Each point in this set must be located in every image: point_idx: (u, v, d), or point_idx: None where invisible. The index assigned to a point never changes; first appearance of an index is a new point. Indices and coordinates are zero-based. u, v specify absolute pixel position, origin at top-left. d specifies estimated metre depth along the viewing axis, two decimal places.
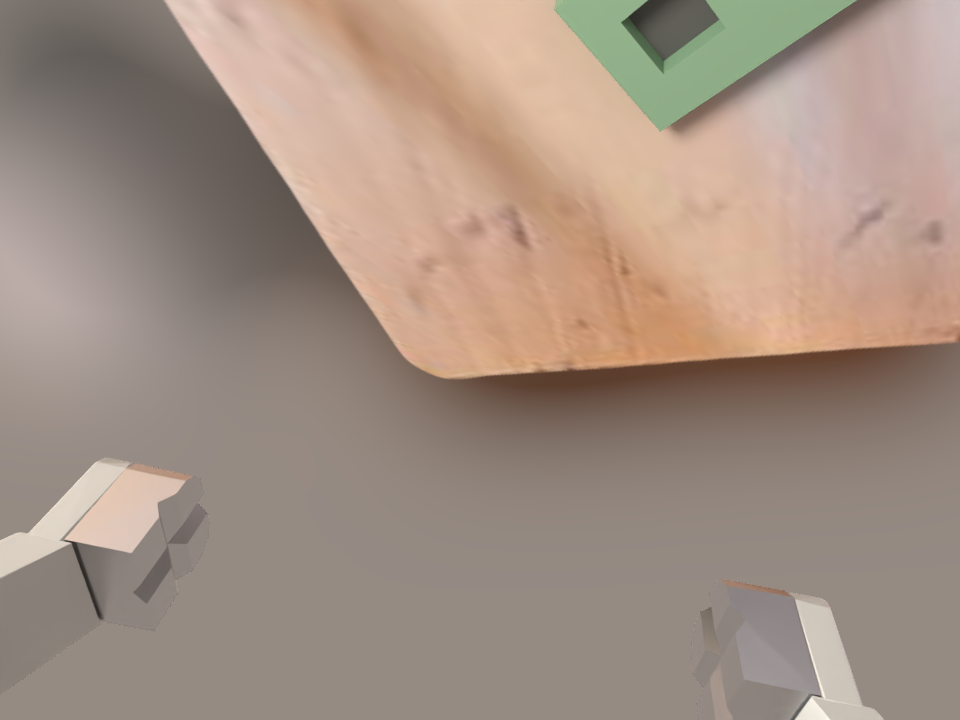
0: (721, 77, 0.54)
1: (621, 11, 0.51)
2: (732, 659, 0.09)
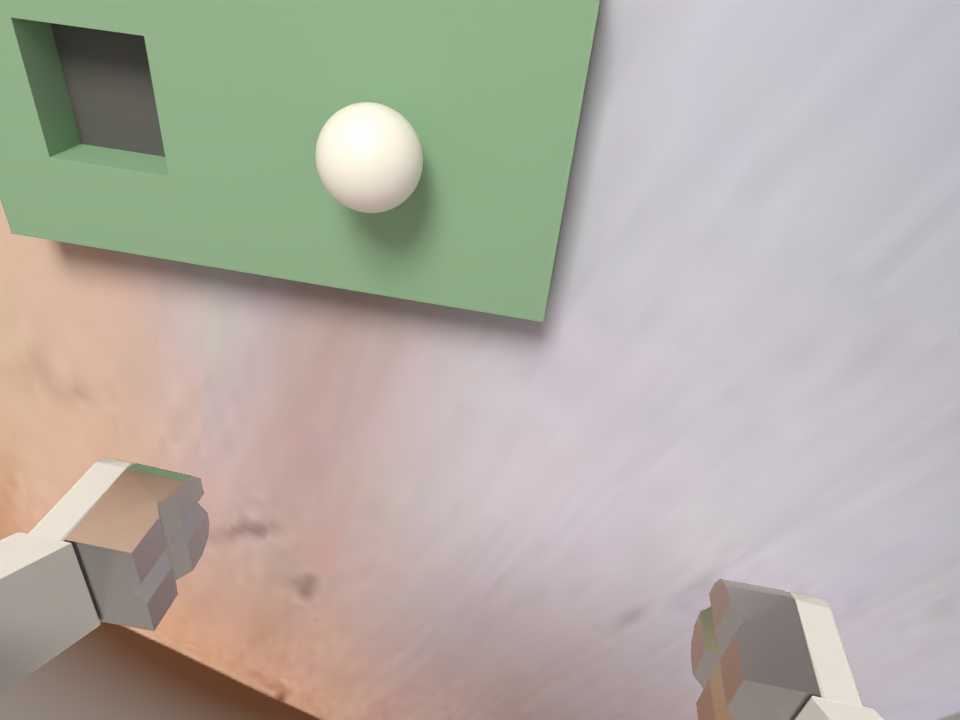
0: (133, 235, 0.31)
1: (18, 0, 0.26)
2: (732, 659, 0.09)
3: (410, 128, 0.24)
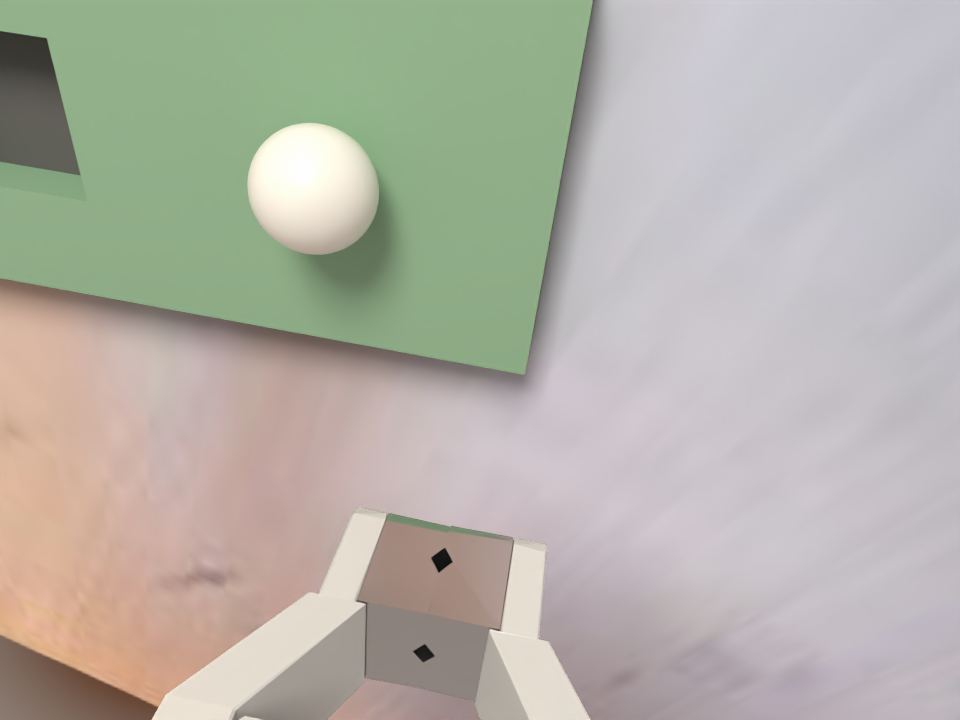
0: (52, 267, 0.27)
1: None
2: None
3: (362, 155, 0.20)
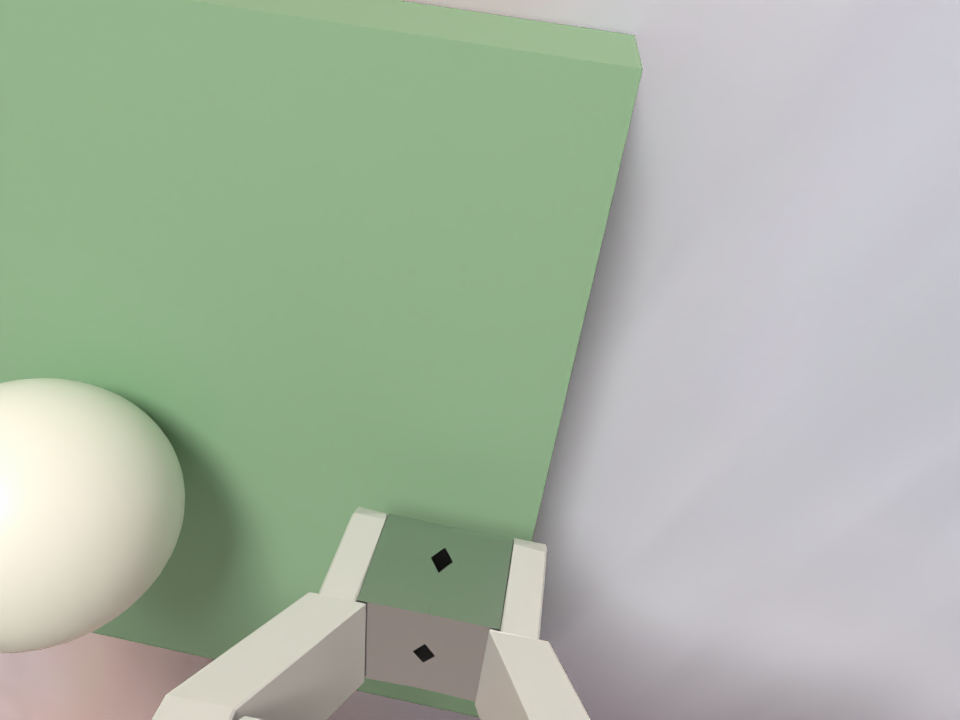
0: None
1: None
2: None
3: (122, 460, 0.09)
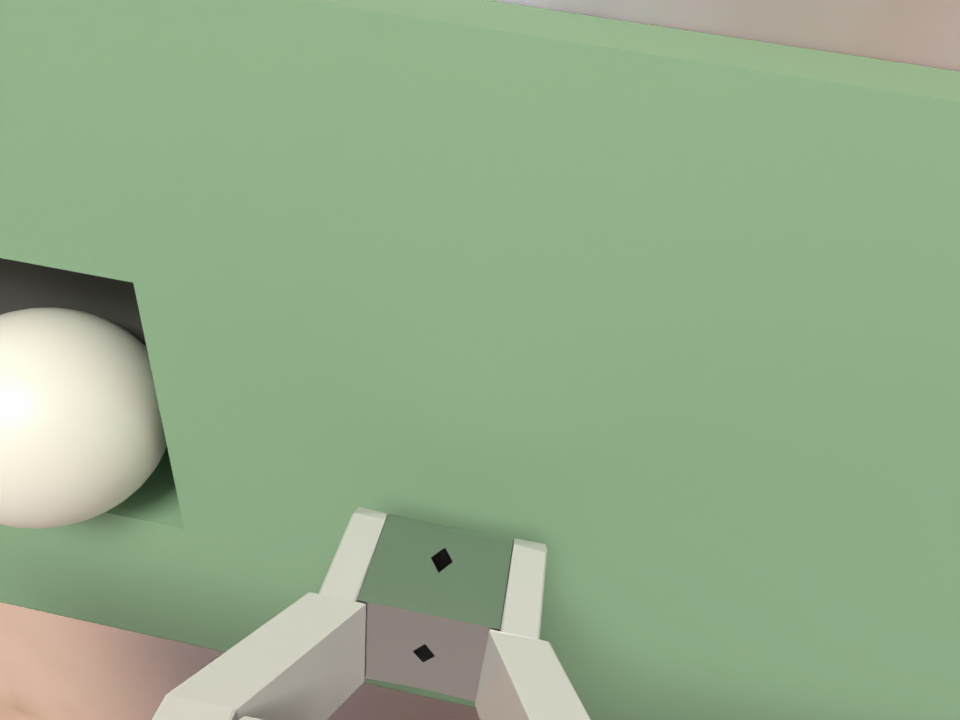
0: (107, 602, 0.15)
1: None
2: None
3: (126, 365, 0.12)
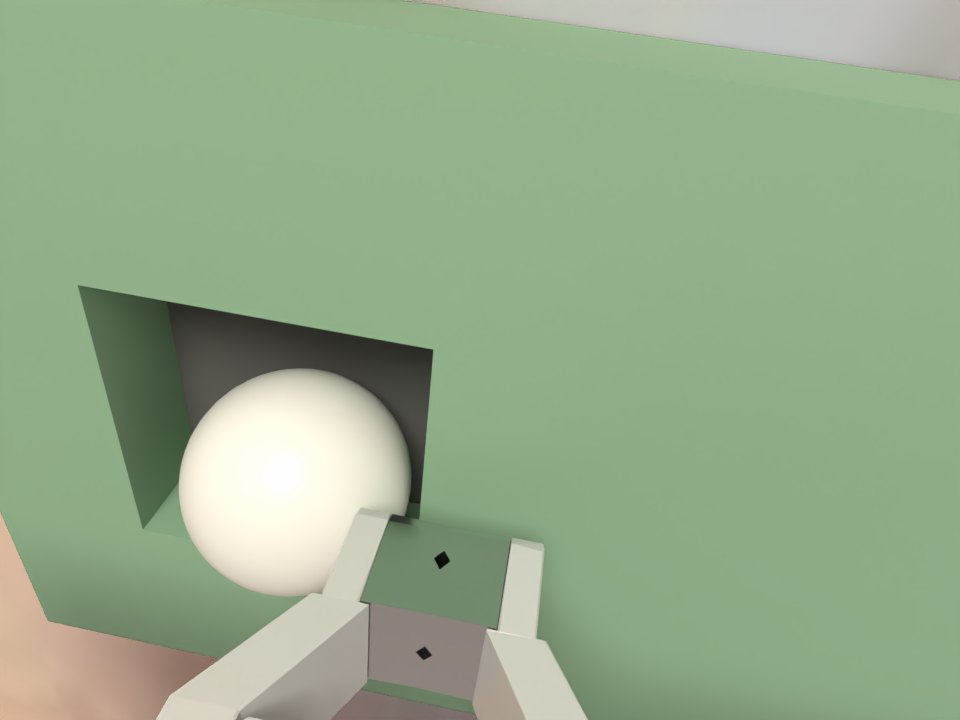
0: None
1: (101, 252, 0.10)
2: None
3: (386, 435, 0.11)
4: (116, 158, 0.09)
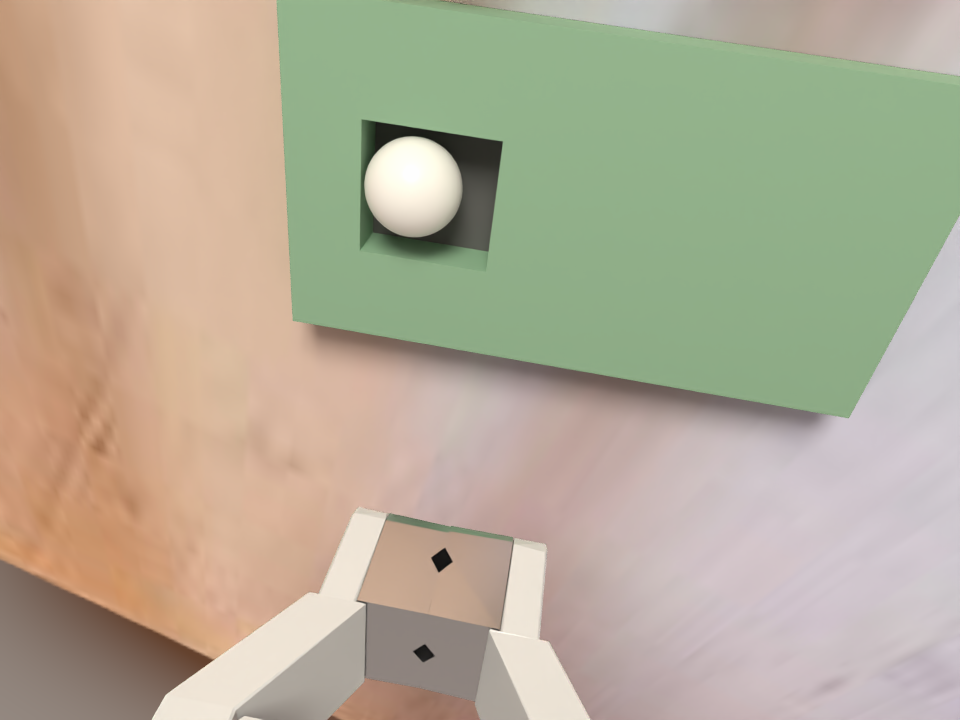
0: (428, 326, 0.31)
1: (375, 104, 0.25)
2: None
3: (452, 163, 0.26)
4: (390, 64, 0.25)
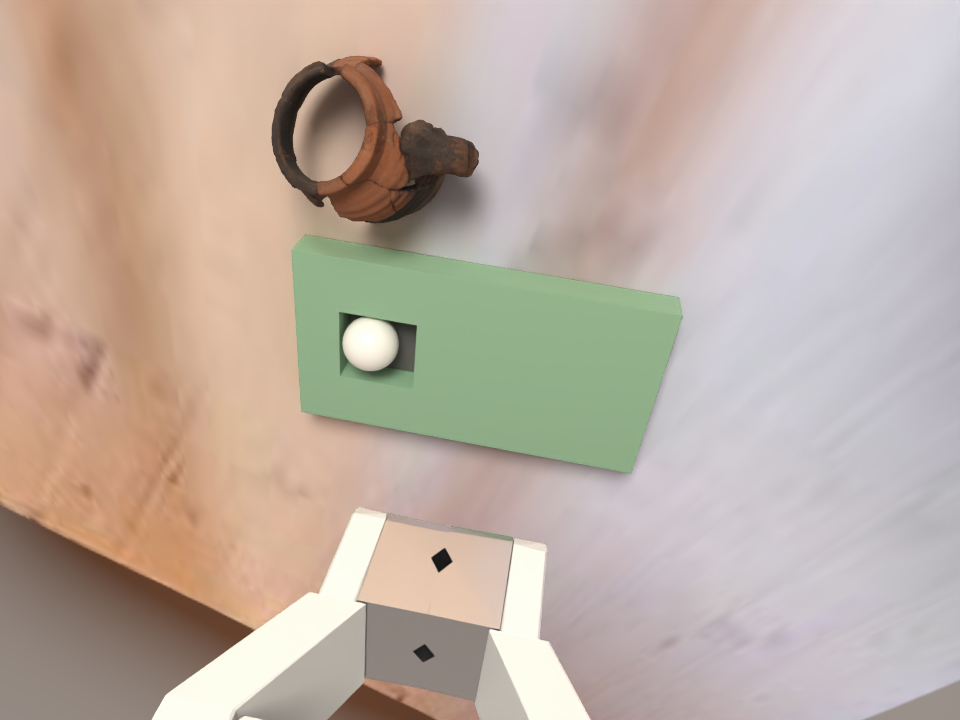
0: (381, 416, 0.51)
1: (346, 305, 0.46)
2: None
3: (392, 331, 0.47)
4: (353, 287, 0.45)
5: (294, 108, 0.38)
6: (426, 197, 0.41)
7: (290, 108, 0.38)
